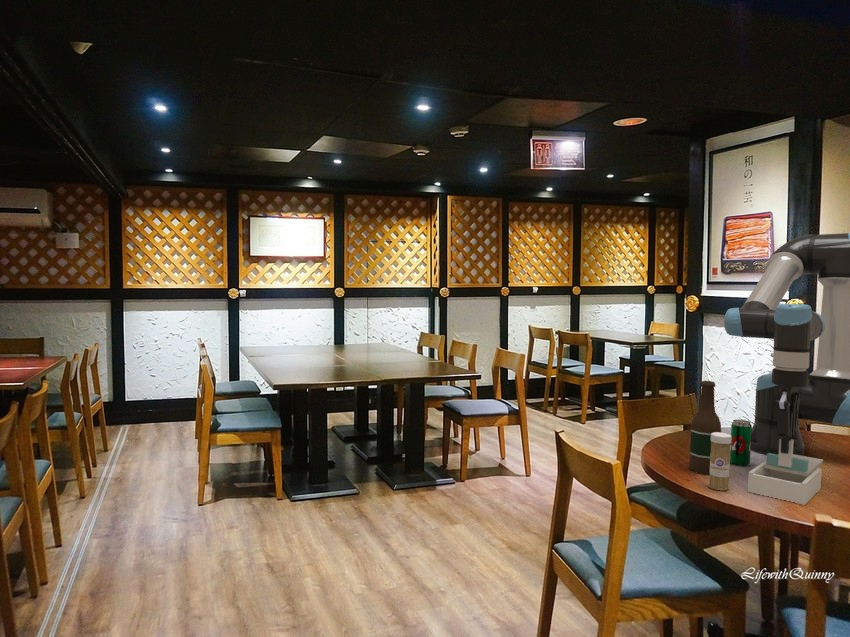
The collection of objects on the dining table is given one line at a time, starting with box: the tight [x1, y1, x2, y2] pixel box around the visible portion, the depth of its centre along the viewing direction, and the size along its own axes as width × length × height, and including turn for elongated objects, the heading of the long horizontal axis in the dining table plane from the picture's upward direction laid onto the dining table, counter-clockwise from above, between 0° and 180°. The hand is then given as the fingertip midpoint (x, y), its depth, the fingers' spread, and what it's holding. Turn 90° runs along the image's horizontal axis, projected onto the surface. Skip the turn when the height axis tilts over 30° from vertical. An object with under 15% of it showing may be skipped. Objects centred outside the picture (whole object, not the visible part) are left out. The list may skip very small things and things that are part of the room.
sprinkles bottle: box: [708, 432, 732, 492], centre depth 154 cm, size 5×5×14 cm
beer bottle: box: [689, 380, 722, 476], centre depth 168 cm, size 8×8×24 cm
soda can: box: [730, 418, 753, 467], centre depth 175 cm, size 5×5×12 cm
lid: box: [764, 453, 824, 476], centre depth 159 cm, size 16×10×3 cm, turn 137°
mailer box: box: [747, 460, 823, 506], centre depth 153 cm, size 16×12×5 cm
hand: (785, 465), depth 153 cm, fingers closed
